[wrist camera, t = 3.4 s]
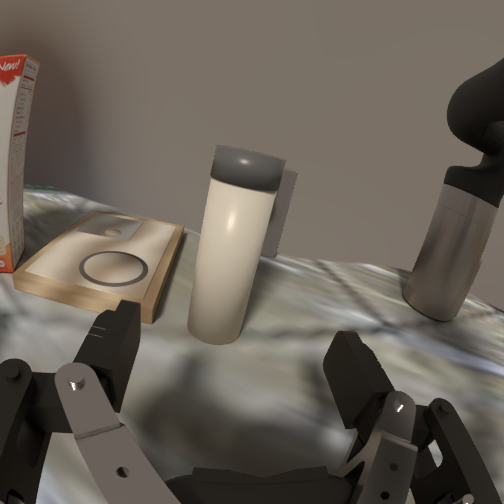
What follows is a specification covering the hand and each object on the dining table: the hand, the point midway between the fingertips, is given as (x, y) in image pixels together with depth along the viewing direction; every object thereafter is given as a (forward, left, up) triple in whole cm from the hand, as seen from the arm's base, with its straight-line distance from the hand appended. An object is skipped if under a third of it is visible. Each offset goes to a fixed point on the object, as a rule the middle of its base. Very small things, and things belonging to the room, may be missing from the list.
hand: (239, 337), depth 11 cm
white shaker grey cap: (0, -10, -8) cm, 13 cm away
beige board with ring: (+12, -19, -8) cm, 24 cm away
